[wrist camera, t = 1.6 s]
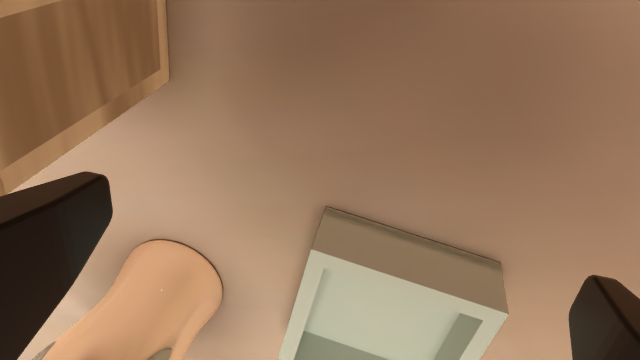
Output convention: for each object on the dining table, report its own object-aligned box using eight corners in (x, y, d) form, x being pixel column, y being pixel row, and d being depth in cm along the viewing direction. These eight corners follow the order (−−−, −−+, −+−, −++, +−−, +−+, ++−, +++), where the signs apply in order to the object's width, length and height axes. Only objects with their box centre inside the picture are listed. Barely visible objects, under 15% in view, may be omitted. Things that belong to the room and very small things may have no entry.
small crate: (165, -50, 20) (-70, -1, 11) (171, 81, 23) (-10, 208, 14) (36, -71, 21) (-290, -41, 11) (58, 59, 24) (-189, 166, 14)
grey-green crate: (500, 262, 24) (508, 314, 21) (434, 373, 29) (434, 428, 26) (326, 206, 25) (311, 249, 22) (290, 324, 30) (273, 372, 27)
